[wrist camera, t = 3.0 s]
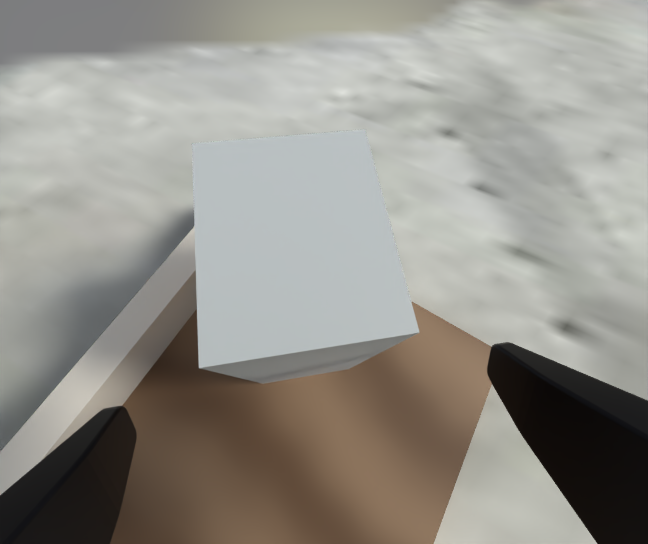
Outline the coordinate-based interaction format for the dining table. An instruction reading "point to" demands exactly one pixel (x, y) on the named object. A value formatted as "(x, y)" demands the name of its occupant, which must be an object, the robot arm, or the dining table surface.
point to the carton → (294, 257)
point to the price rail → (109, 363)
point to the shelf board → (304, 446)
